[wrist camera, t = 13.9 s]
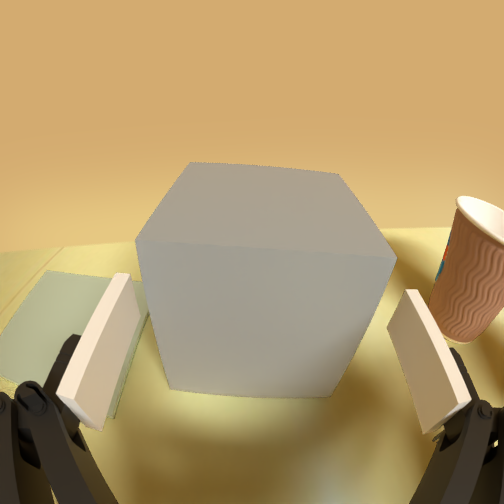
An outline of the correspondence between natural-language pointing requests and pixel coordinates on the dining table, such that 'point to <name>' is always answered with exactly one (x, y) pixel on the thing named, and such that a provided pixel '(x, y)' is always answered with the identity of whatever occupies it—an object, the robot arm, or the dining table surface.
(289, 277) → the cover
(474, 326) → the coffee cup
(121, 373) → the mat
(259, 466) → the dining table surface
